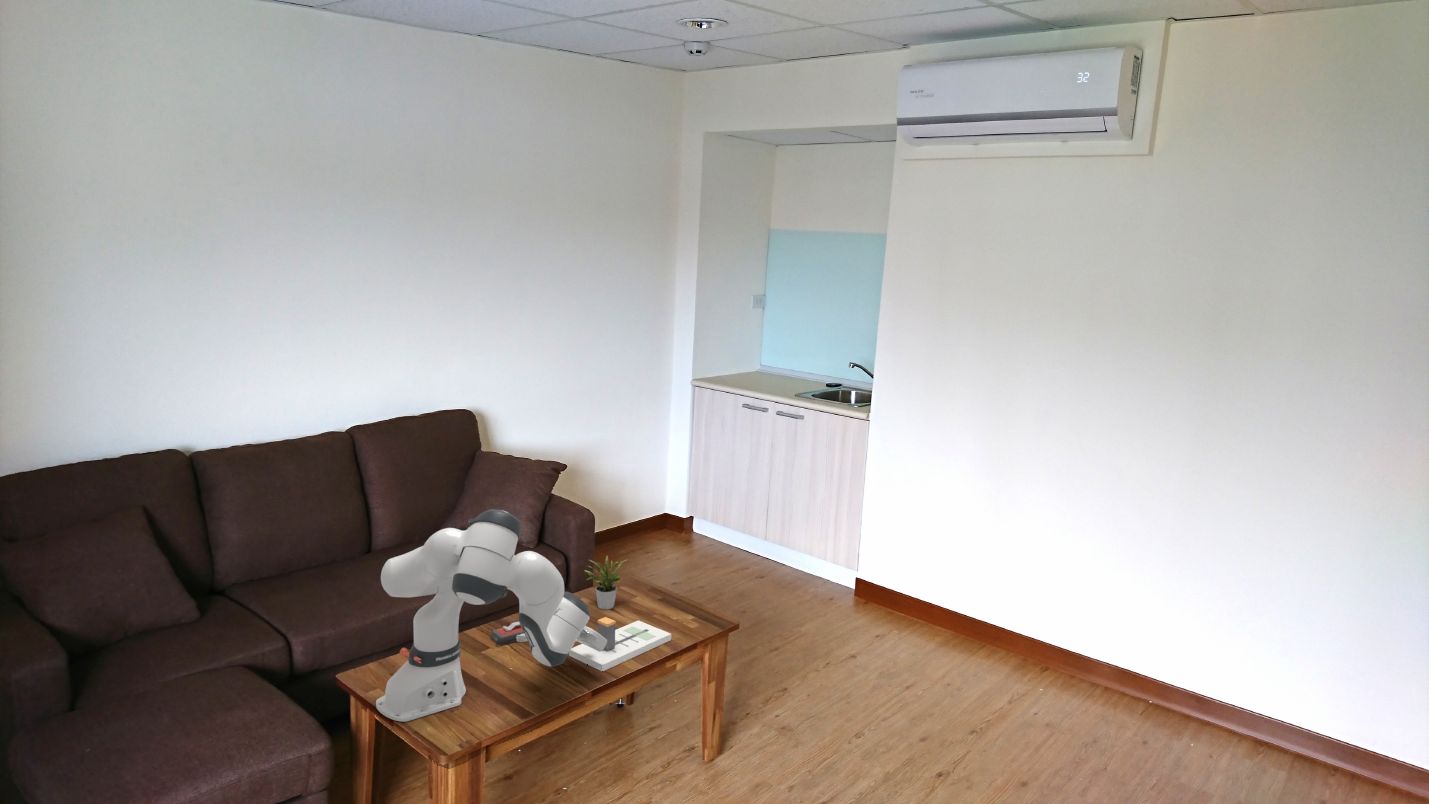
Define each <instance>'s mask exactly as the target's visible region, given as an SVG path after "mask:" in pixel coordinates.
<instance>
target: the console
mask: <svg viewBox="0 0 1429 804" xmlns="http://www.w3.org/2000/svg"><path fill="white" fill-rule="evenodd" d="M670 641H672V633H670V632H668V631H666V630H663V629H660V628H658V627H655V626H653V625H651V624H648V623H645V622H644V621H640V620H639V619H638V620H636V621H634V622H632V623H629V624H627V625H623V626H622V627H619V628H616V629H615V648H613V649H610V650H608V651H607V650H604V649H603V650H602V651H601V652H599V651H597V650H595V649H593V648H591V647H588V646H586V645H584V644H582V643H580V644H579V645H576V646H573V647H572V648H571V650H570V651H569V654H568V655H569V657H572V658H573V659H575V660H577V661H579V662H581V663H583V664H585V665H587V664H588V666H589V667H592V668H594V669H595V670H598V671H599V672H602V671H603V672H604V671H607V670H609V669H611V668H613V667H616V666H617V665H620V664H622V663H624V662H627V661H629V660H631V659H633V658H635V657H637V656H639V655H642V654H643V653H644V654H645V653H646V652H648V651H650V650H653V649H654V648H655V649H656V647H659V646H661V645H664V644H666V643H668V642H670Z"/></svg>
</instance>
